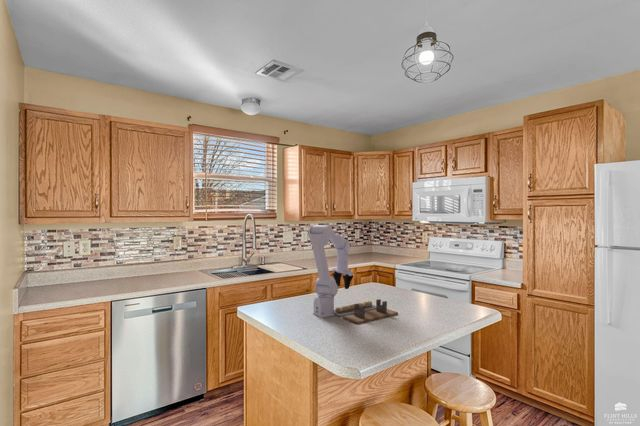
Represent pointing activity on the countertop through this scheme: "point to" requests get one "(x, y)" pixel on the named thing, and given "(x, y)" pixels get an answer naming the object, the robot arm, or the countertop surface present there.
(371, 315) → the hook stand
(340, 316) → the mat
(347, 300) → the countertop surface
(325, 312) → the robot arm
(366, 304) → the rail
